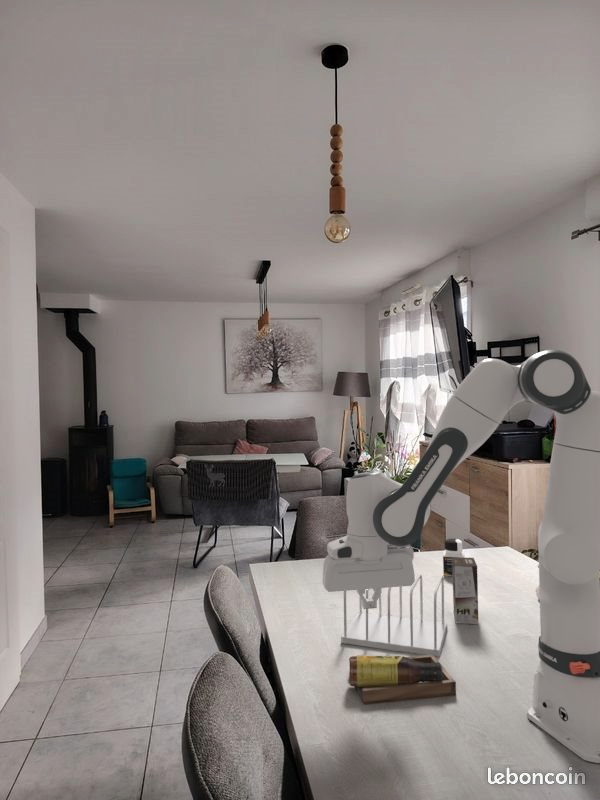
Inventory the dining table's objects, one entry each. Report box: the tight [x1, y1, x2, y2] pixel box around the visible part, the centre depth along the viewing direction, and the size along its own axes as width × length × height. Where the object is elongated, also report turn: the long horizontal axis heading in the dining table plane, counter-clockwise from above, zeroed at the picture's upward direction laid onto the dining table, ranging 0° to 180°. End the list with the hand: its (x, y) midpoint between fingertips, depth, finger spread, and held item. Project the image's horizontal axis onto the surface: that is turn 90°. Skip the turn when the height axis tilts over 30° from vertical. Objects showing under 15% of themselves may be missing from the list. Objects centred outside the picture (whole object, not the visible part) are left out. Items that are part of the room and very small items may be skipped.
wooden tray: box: [355, 654, 457, 705], centre depth 125 cm, size 13×20×3 cm, turn 98°
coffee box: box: [452, 557, 479, 625], centre depth 161 cm, size 9×6×16 cm
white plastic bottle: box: [442, 538, 465, 577], centre depth 201 cm, size 7×7×12 cm
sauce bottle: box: [348, 654, 442, 687], centre depth 123 cm, size 7×6×20 cm
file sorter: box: [340, 574, 448, 658], centre depth 150 cm, size 25×17×16 cm
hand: (369, 607), depth 124 cm, fingers closed
